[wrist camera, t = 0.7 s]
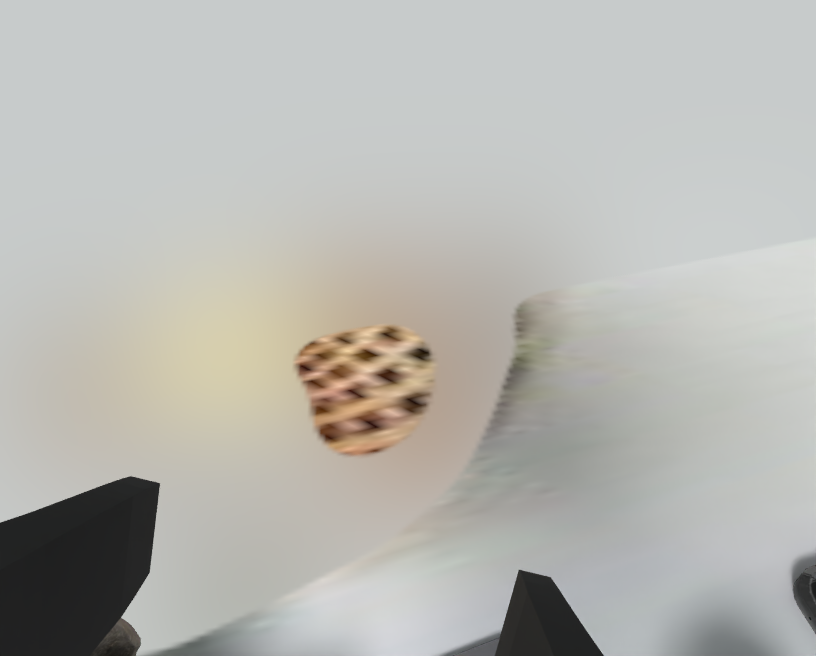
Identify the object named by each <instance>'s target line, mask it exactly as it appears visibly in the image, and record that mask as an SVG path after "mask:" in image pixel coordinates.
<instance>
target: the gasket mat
mask: <svg viewBox="0 0 816 656" xmlns="http://www.w3.org/2000/svg"><path fill="white" fill-rule="evenodd" d="M499 639H500V638H497V639H495V640H492V641H490V642H487V643H484V644H482V645H479V646H477V647H474V648H472V649H469V650H466V651H464V652H461V653H459V654H456V655H454V656H495V653H496V650H497V646H498V643H499Z"/></svg>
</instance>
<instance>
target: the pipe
mask: <svg viewBox="0 0 816 656" xmlns="http://www.w3.org/2000/svg"><path fill="white" fill-rule="evenodd" d="M140 645H141V642H140V637H139V636H138V634H137V632H136V631H135V629H134V628H133V627H132V626H131V625H130V624H129V623H128V622H126V621H125V620H123V619H122V618H120V619H119V621H118V622H117V623H116V624H115V626H114V627H113V628H112V629H111V631H110V632H109V633H108V634H107V635H106V637H105V638H104V639H103V640H102V641H101V643H100V644H99V645H98V646H97V647H96V649H95V650H94V651H93V652H92V654H91V655H90V656H136V652H137V650H138V649H139V647H140Z"/></svg>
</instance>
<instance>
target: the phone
mask: <svg viewBox="0 0 816 656" xmlns="http://www.w3.org/2000/svg"><path fill="white" fill-rule="evenodd" d="M793 592H794V598H795V600H796V603H797V605H798V607H799V608H800V610H801V612H802V613H803V615H804V616H805V618H806V619H807V621H808V622H809V624H810V626H811V627H812V629H813V630H814V632H815V633H816V565H815V566H812V567H810V568H807V569H805V571H804V572H803V573H802V574H801V575H800V577H799V578H798V579H797V581H796V582H795V584H794V588H793ZM809 617H810V618H811V620H810V619H809Z"/></svg>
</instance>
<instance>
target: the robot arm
mask: <svg viewBox="0 0 816 656" xmlns="http://www.w3.org/2000/svg"><path fill="white" fill-rule="evenodd" d="M159 487H160V483H156V482H152V481H148V480H143V479H140V478H136V477H127V478H123V479H120V480H117V481H114V482H111V483H108V484H105V485H103V486H100V487H97V488H95V489H92V490H89V491H87V492H84V493H81V494H79V495H76V496H74V497H71V498H68V499H65V500H63V501H60V502H57V503H55V504H52V505H50V506H47V507H44V508H42V509H39V510H36V511H33V512H31V513H28V514H25V515H22V516H19V517H16V518H13V519H10V520H7V521H4V522H1V523H0V656H90V655H91V654H92V652H93V651H94V650H95V649H96V647H97V646H98V645H99V644H100V643H101V641H102V640H103V639H104V638H105V637H106V635H107V634H108V633H109V632H110V631H111V629H112V628H113V627H114V626H115V624H116V623H117V622H118V621H119V619H120V618H121V616H122V615H123V613H124V612H125V610H126V609H127V607H128V606H129V604H130V603H131V601H132V600H133V598H134V597H135V595H136V593H137V592H138V590H139V589H140V587H141V585H142V584H143V582H144V581H145V579H146V577H147V576H148V574H149V572H150V565H151V556H152V547H153V538H154V529H155V521H156V512H157V504H158V495H159ZM495 656H604V655H603V654H602V652H601V651H600V650H599V648H598V647H597V645H596V644H595V643H594V641H593V640H592V638H591V637H590V635H589V634H588V632H587V631H586V630H585V628H584V627H583V625H582V624H581V622H580V621H579V619H578V618H577V616H576V615H575V613H574V612H573V610H572V609H571V607H570V606H569V604H568V603H567V601H566V600H565V598H564V597H563V595H562V593H561V592H560V590H559V589H558V587H557V586H556V584H555V583H554V582H553V580H552V579H551V577H547V576H543V575H539V574H534V573H530V572H526V571H522V570H519V572H518V575H517V579H516V582H515V586H514V589H513V593H512V596H511V600H510V604H509V607H508V611H507V614H506V618H505V621H504V625H503V628H502V632H501V635H500V639H499V643H498V646H497V650H496V653H495Z"/></svg>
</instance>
